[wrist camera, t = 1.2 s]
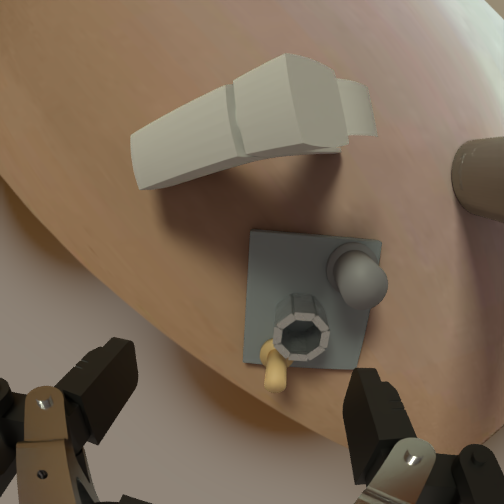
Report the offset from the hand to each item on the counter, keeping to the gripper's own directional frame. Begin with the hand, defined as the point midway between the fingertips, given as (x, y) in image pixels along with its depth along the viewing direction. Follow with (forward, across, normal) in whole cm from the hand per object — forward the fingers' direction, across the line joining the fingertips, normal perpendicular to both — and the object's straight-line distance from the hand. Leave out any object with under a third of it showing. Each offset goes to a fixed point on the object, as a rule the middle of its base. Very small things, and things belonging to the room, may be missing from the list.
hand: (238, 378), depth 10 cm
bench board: (+24, -5, +7) cm, 25 cm away
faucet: (+24, +3, -10) cm, 26 cm away
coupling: (+22, -4, +8) cm, 24 cm away
